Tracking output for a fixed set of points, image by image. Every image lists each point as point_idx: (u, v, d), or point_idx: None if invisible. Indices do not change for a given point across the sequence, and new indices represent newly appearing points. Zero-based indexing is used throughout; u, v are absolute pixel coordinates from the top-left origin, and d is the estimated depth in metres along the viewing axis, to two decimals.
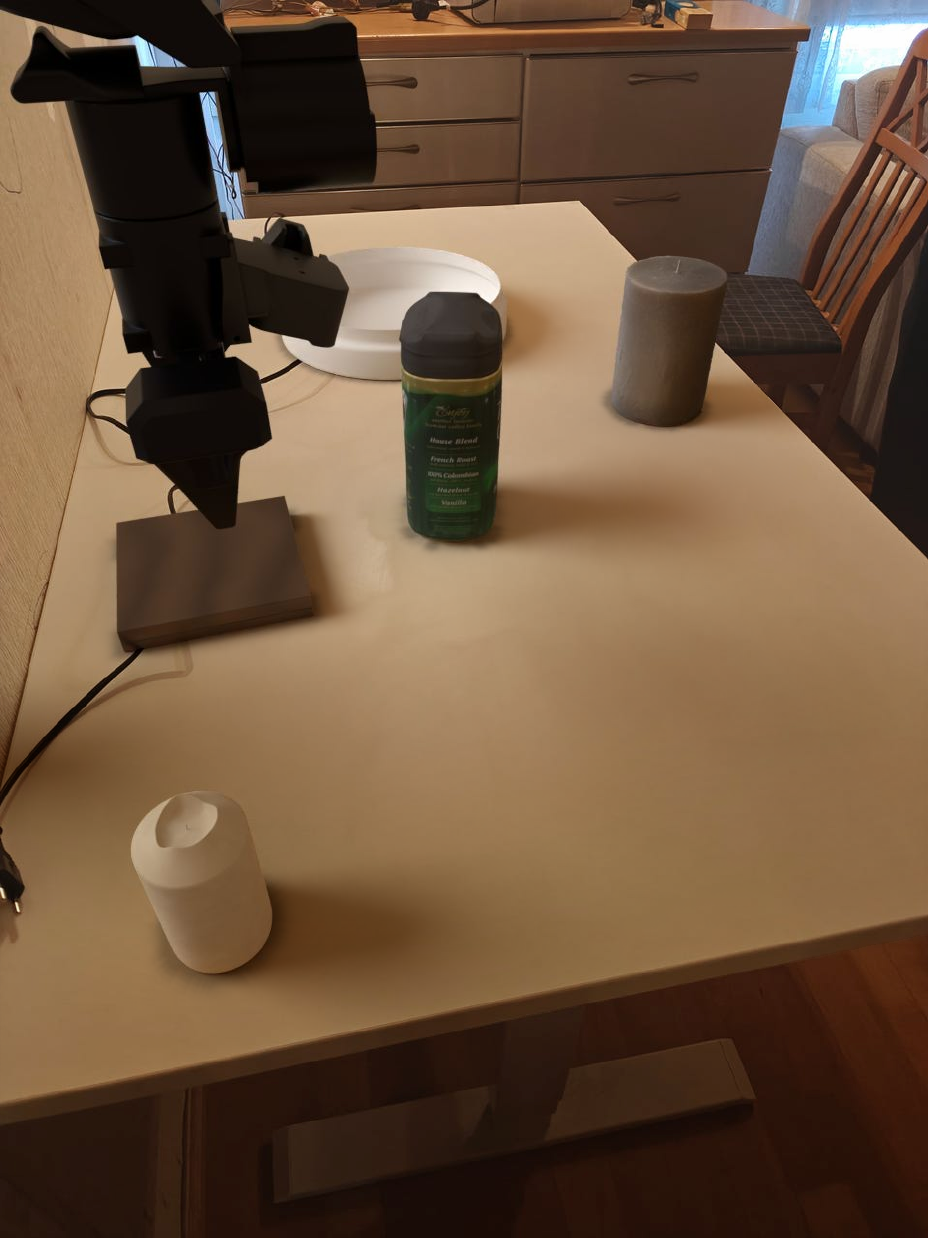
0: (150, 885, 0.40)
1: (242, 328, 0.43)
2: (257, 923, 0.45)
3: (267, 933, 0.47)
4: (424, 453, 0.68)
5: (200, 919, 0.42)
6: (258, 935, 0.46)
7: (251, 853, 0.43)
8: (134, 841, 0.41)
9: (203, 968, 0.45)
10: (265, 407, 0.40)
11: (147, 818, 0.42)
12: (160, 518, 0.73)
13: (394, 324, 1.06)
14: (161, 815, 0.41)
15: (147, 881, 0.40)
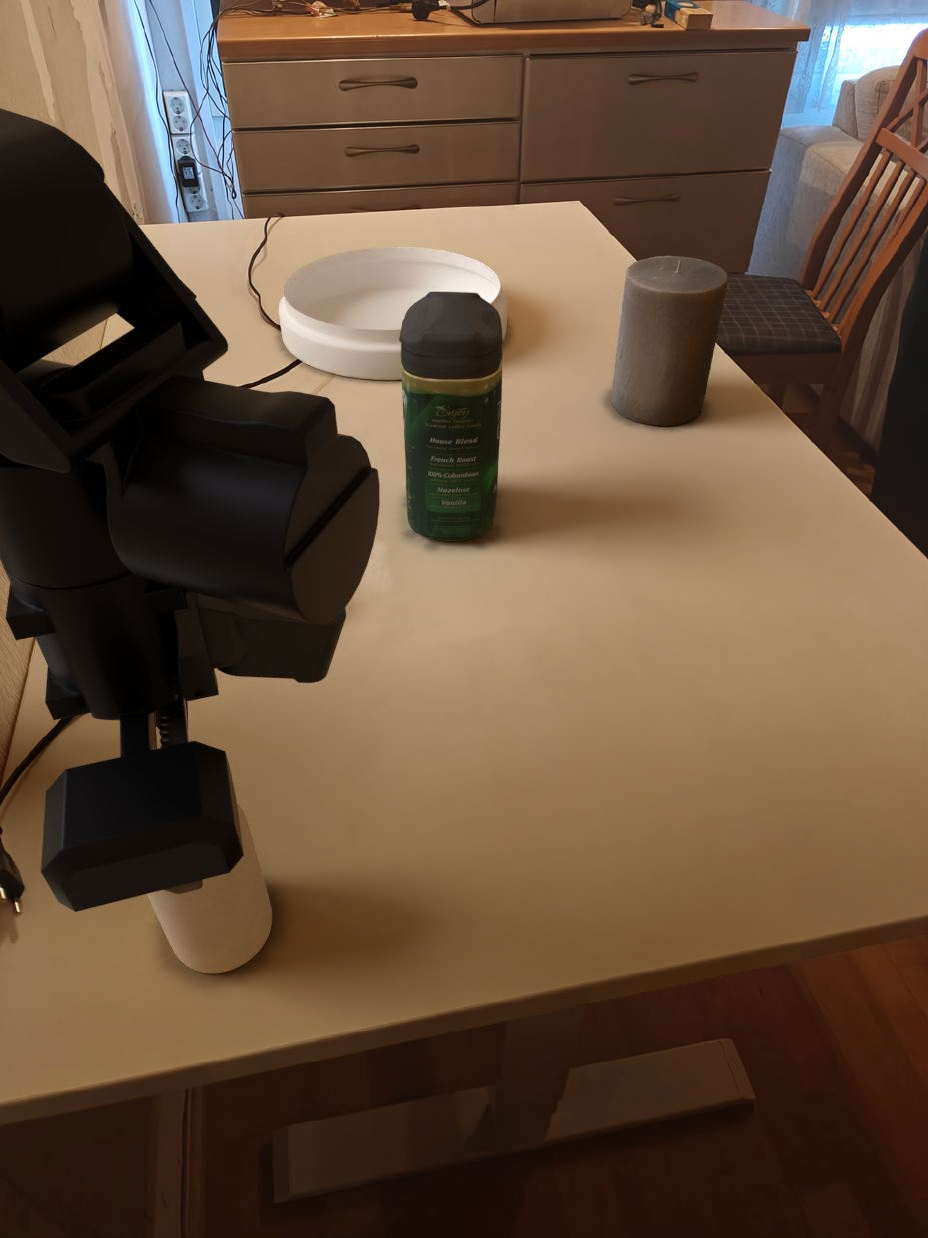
0: None
1: (205, 683, 0.33)
2: (257, 923, 0.45)
3: (267, 933, 0.47)
4: (424, 453, 0.68)
5: (200, 918, 0.42)
6: (258, 935, 0.46)
7: (251, 853, 0.43)
8: None
9: (203, 968, 0.45)
10: (233, 830, 0.29)
11: None
12: None
13: (394, 324, 1.06)
14: None
15: None
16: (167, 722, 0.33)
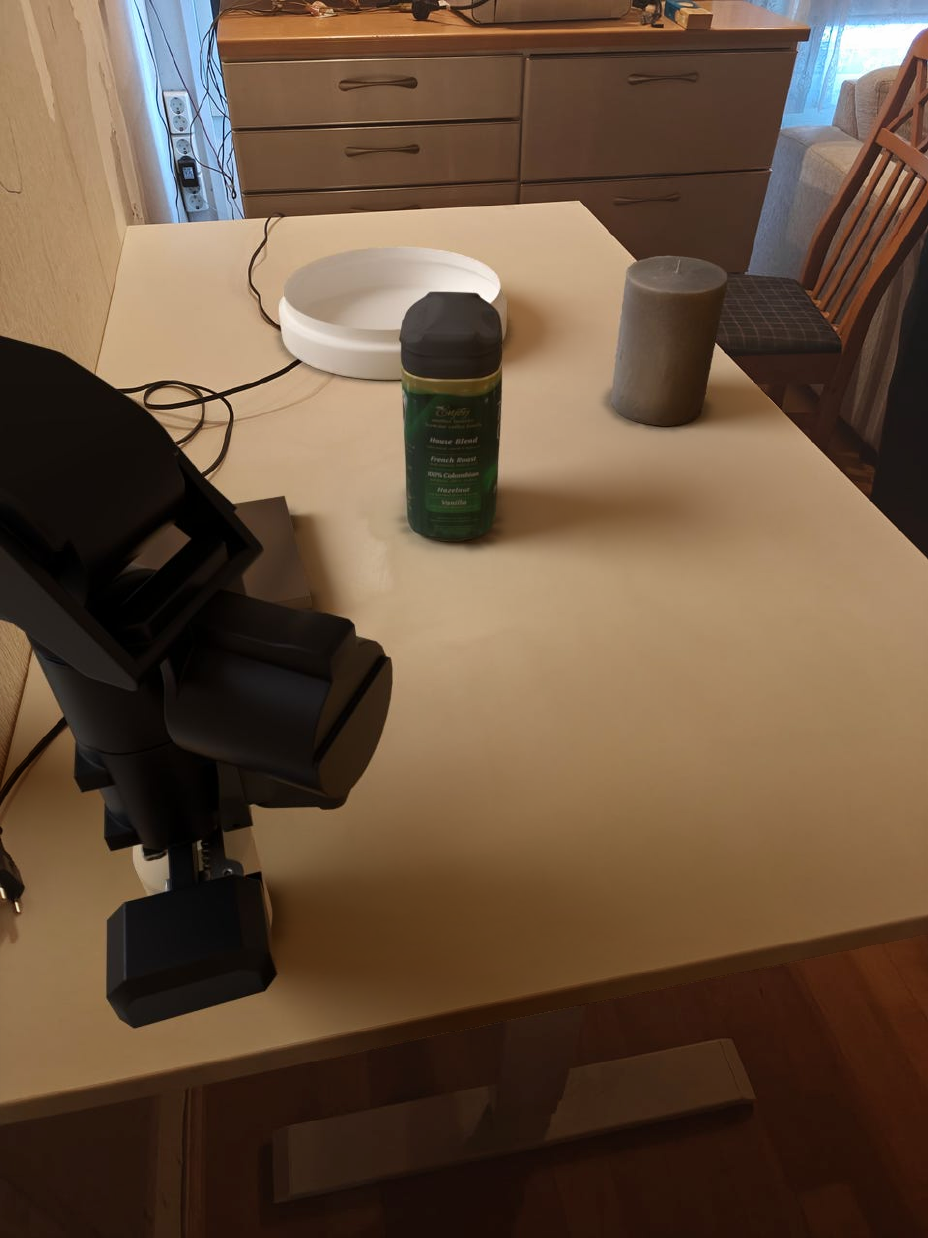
0: (153, 890, 0.40)
1: (242, 817, 0.37)
2: None
3: None
4: (424, 453, 0.68)
5: None
6: None
7: (254, 857, 0.43)
8: (136, 845, 0.41)
9: None
10: (269, 957, 0.34)
11: None
12: None
13: (394, 324, 1.06)
14: None
15: (150, 886, 0.40)
16: None
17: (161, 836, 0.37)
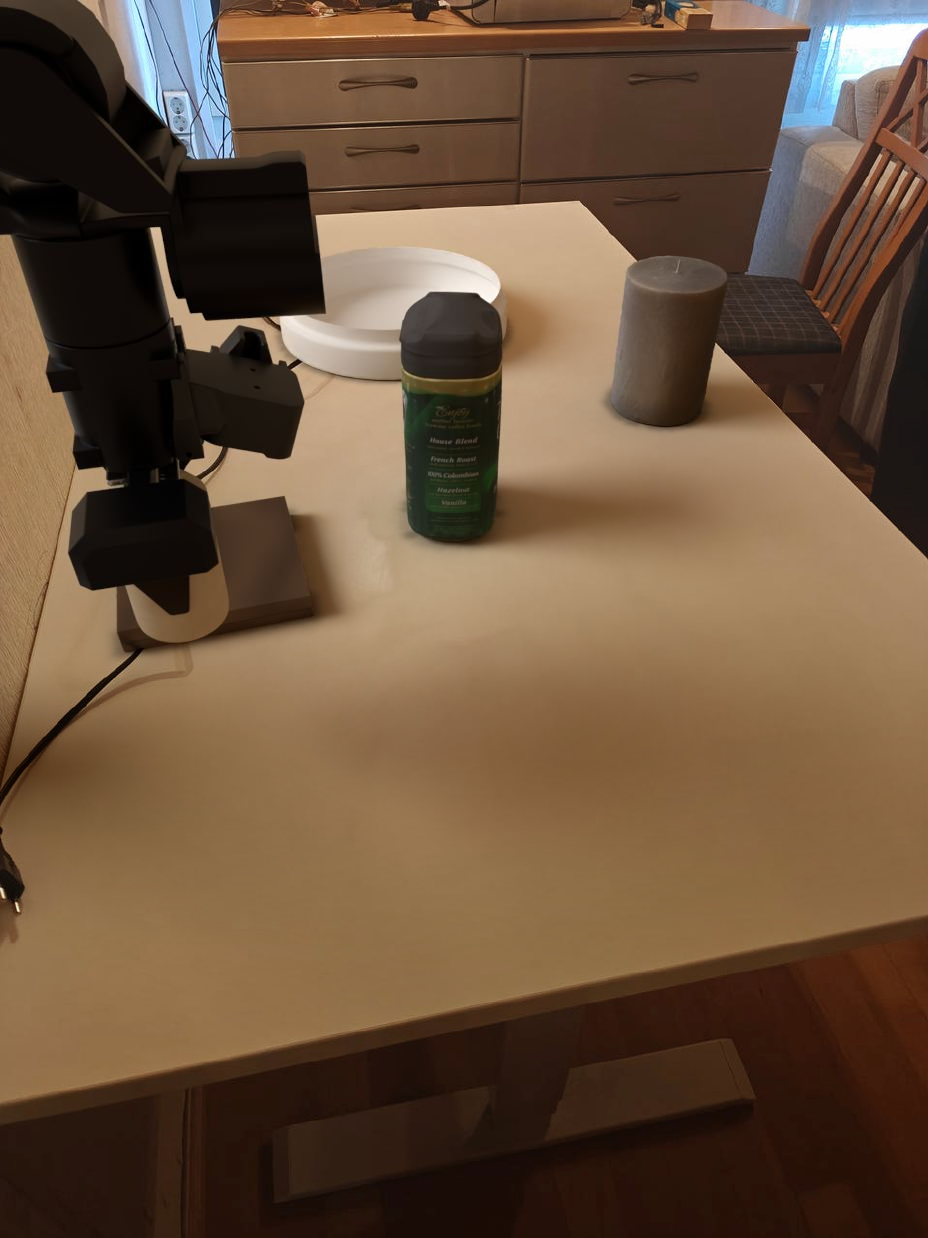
0: None
1: (194, 445, 0.43)
2: (214, 597, 0.50)
3: (223, 615, 0.52)
4: (424, 453, 0.68)
5: None
6: (215, 610, 0.51)
7: None
8: None
9: (165, 634, 0.50)
10: (210, 535, 0.39)
11: None
12: None
13: (394, 324, 1.06)
14: None
15: None
16: None
17: (122, 455, 0.42)
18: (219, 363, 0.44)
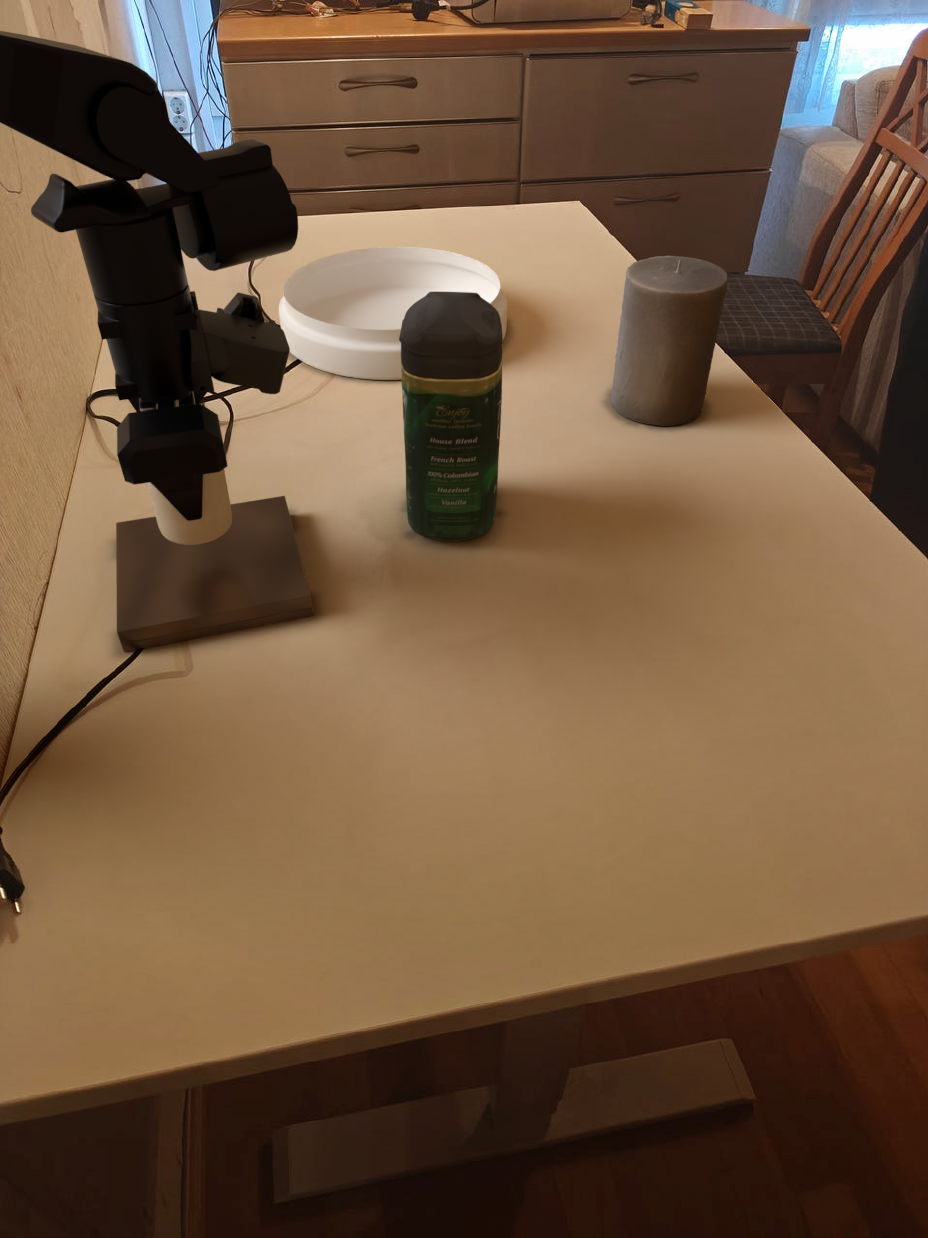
0: None
1: (206, 381, 0.56)
2: (221, 507, 0.64)
3: (228, 524, 0.66)
4: (424, 453, 0.68)
5: None
6: (221, 519, 0.65)
7: None
8: None
9: (182, 537, 0.64)
10: (221, 443, 0.53)
11: None
12: None
13: (394, 324, 1.06)
14: None
15: None
16: None
17: (153, 388, 0.56)
18: (224, 320, 0.58)
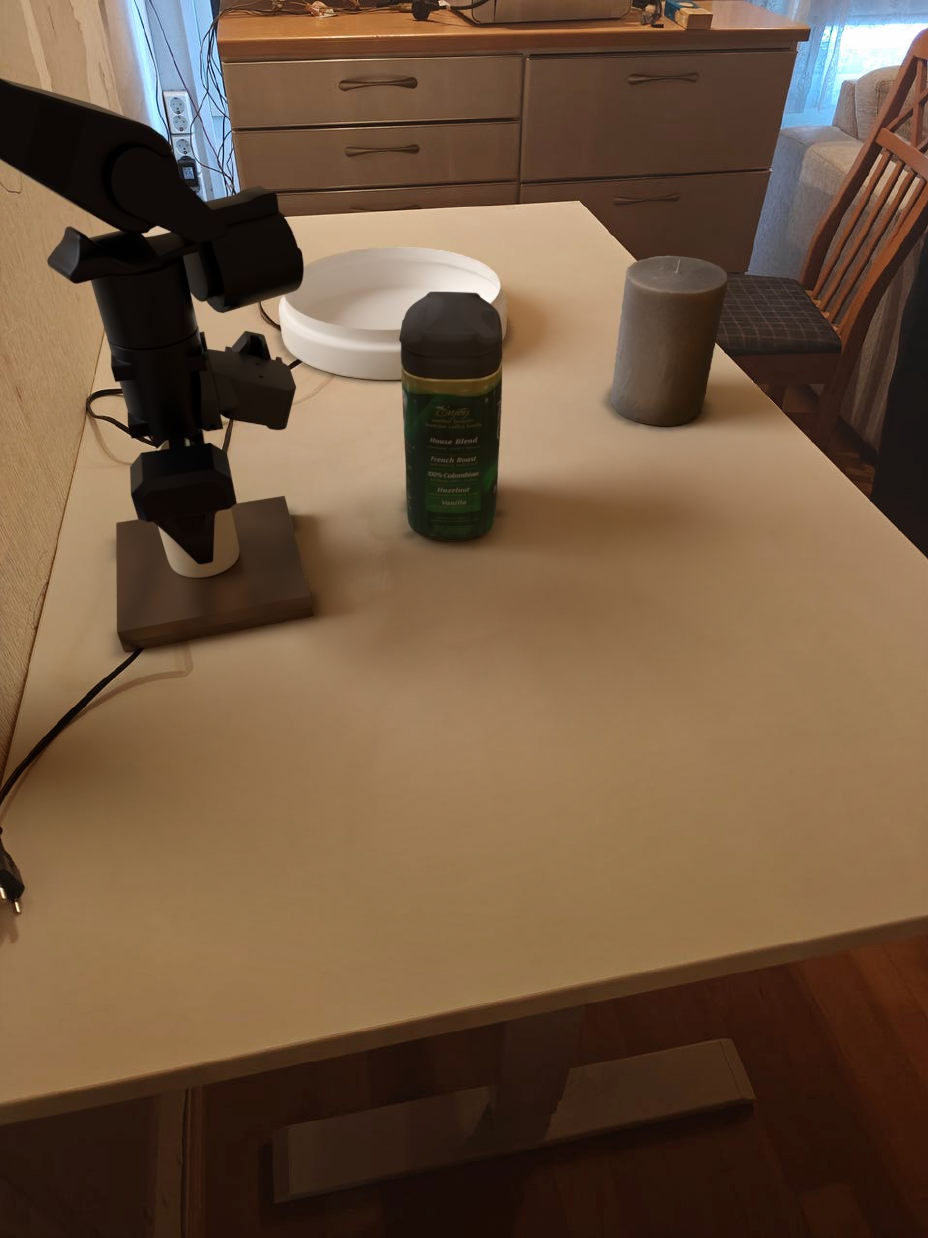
0: None
1: (216, 419, 0.58)
2: (227, 540, 0.66)
3: (235, 556, 0.68)
4: (424, 453, 0.68)
5: None
6: (228, 552, 0.67)
7: None
8: None
9: (191, 570, 0.66)
10: (231, 481, 0.55)
11: None
12: None
13: (394, 324, 1.06)
14: (162, 447, 0.63)
15: None
16: (194, 443, 0.59)
17: (164, 427, 0.58)
18: (232, 359, 0.60)
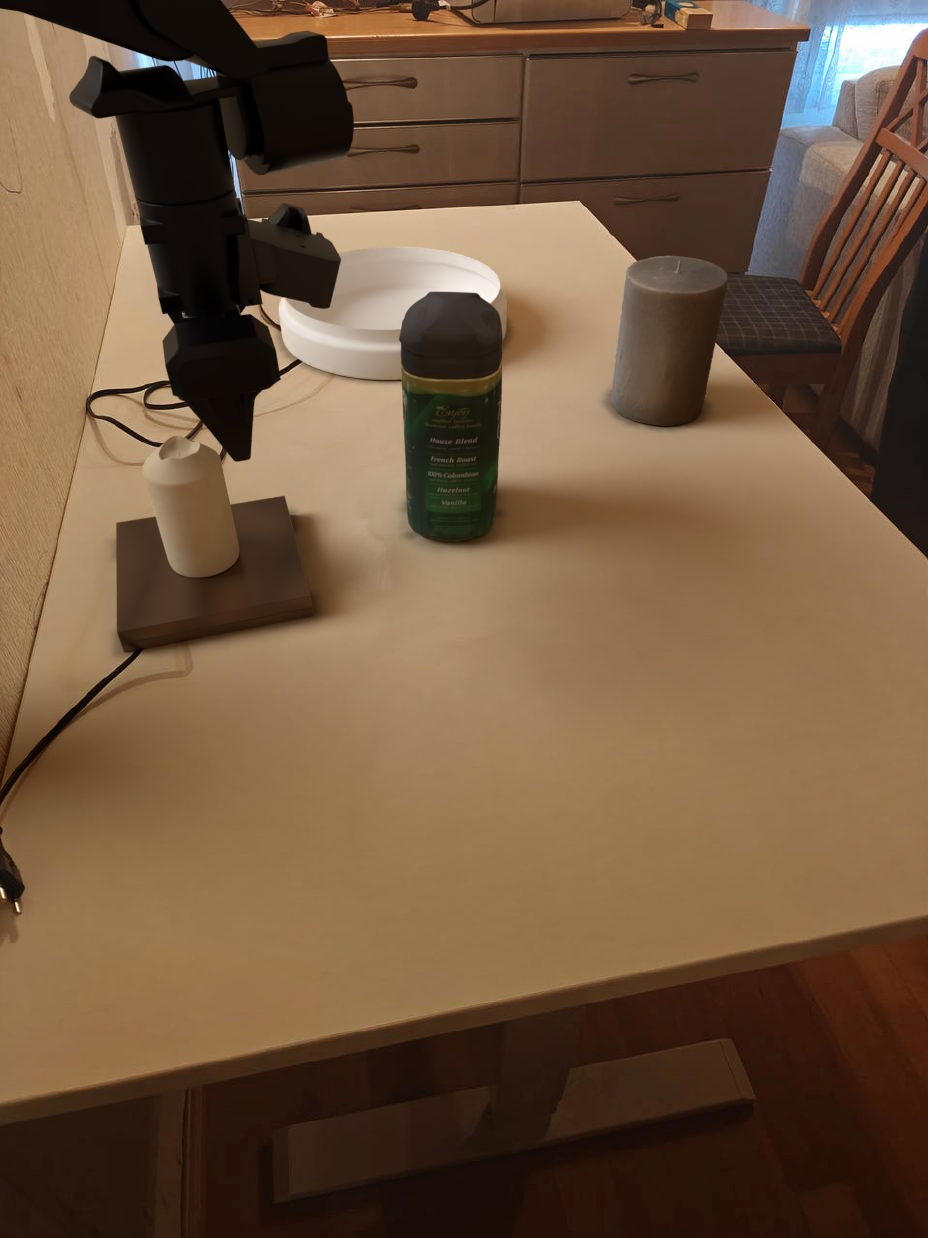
0: (155, 486, 0.61)
1: (254, 292, 0.53)
2: (227, 540, 0.66)
3: (235, 556, 0.68)
4: (424, 453, 0.68)
5: (188, 517, 0.63)
6: (228, 552, 0.67)
7: (223, 480, 0.64)
8: (145, 463, 0.63)
9: (191, 570, 0.66)
10: (275, 353, 0.50)
11: (153, 452, 0.63)
12: None
13: (394, 324, 1.06)
14: (162, 447, 0.63)
15: (153, 482, 0.61)
16: None
17: (198, 300, 0.52)
18: (270, 229, 0.55)
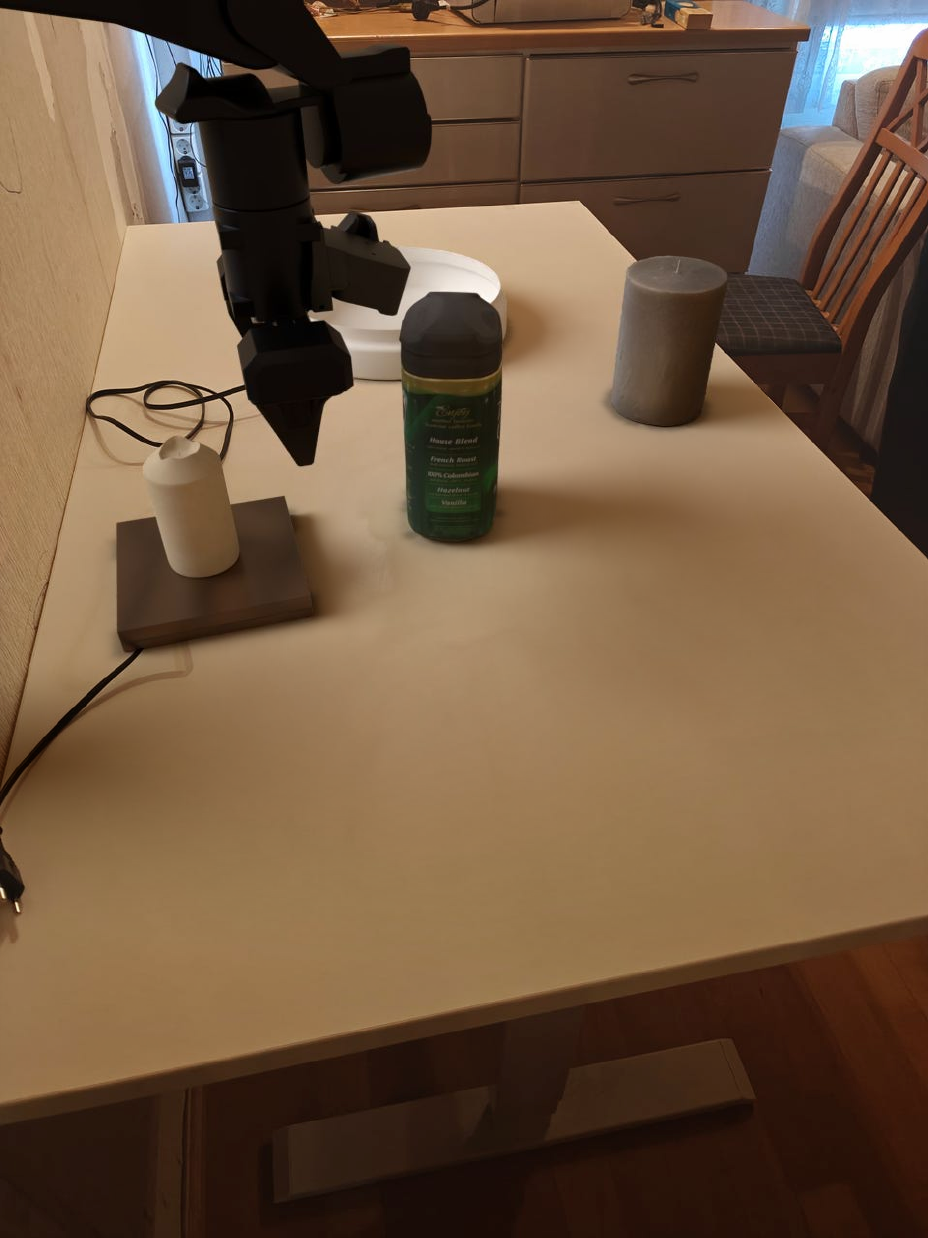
0: (155, 486, 0.61)
1: (326, 298, 0.53)
2: (227, 540, 0.66)
3: (235, 556, 0.68)
4: (424, 453, 0.68)
5: (188, 517, 0.63)
6: (228, 552, 0.67)
7: (223, 480, 0.64)
8: (145, 463, 0.63)
9: (191, 570, 0.66)
10: (350, 359, 0.50)
11: (153, 452, 0.63)
12: None
13: (394, 324, 1.06)
14: (163, 447, 0.63)
15: (153, 482, 0.61)
16: None
17: (270, 306, 0.53)
18: (341, 236, 0.55)
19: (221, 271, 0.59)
